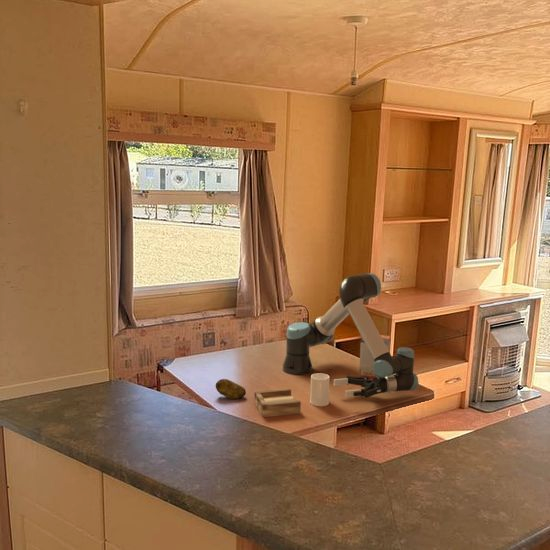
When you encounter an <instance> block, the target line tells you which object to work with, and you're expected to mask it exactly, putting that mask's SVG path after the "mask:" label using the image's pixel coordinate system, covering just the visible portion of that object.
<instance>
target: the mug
mask: <svg viewBox="0 0 550 550" xmlns="http://www.w3.org/2000/svg"><path fill="white" fill-rule="evenodd" d="M330 380H331V379H330V375H328V374H327V373H322V372H320V373H318V372H317V373H316V372H315V373H313V374H311V376H310V397H309V399H310V400H309V404H310V403H311V404H310V405H312V406H315V407H326V406H328V405H329V404H330Z"/></svg>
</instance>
